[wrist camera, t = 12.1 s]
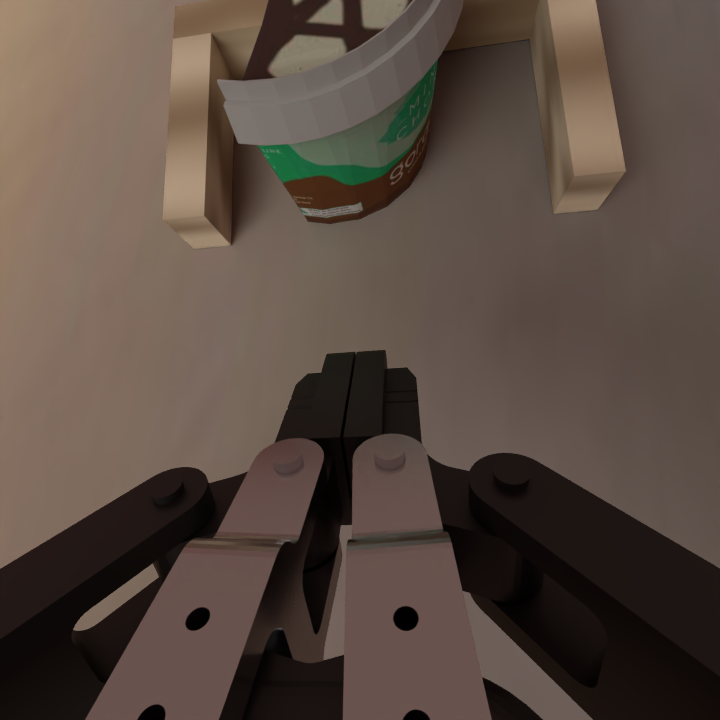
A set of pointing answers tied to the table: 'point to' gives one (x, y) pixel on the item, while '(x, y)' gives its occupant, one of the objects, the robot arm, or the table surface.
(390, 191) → the food container
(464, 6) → the wooden bridge piece
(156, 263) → the table surface
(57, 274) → the table surface
